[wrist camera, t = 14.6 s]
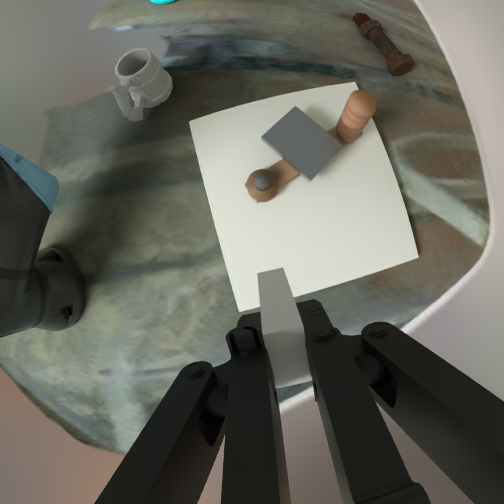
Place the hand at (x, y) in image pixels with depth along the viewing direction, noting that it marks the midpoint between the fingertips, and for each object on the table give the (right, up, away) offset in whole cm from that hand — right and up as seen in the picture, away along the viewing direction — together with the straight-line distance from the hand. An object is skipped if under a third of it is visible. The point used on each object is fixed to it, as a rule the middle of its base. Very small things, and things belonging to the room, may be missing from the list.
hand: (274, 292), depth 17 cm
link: (+6, +16, +24) cm, 29 cm away
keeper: (+6, +17, +26) cm, 31 cm away
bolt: (+23, +41, +25) cm, 54 cm away
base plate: (+6, +12, +26) cm, 29 cm away
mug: (-19, +29, +28) cm, 44 cm away
